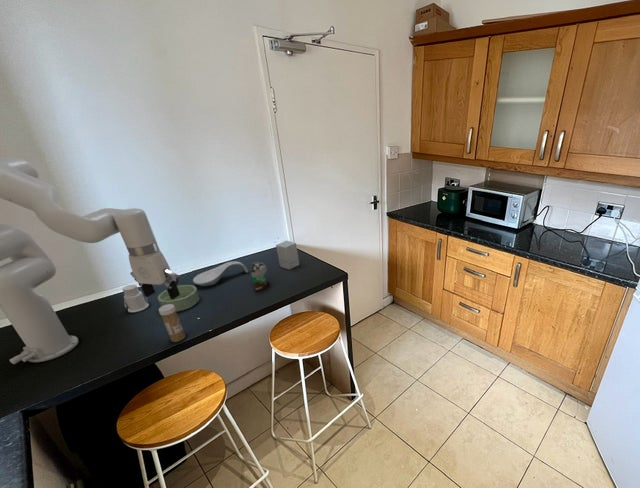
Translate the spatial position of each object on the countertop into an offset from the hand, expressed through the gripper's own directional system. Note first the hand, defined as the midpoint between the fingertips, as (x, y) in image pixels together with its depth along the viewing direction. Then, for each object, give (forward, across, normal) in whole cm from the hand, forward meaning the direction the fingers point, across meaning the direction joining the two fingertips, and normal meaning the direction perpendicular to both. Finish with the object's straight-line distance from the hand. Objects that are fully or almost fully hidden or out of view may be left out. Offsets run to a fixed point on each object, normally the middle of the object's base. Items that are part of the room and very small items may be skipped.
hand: (163, 295), depth 105 cm
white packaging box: (+18, +10, +63) cm, 66 cm away
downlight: (+18, -33, +14) cm, 40 cm away
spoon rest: (+18, -16, +43) cm, 49 cm away
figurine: (+18, +8, +41) cm, 45 cm away
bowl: (+18, -18, +20) cm, 32 cm away
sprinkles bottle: (+18, -1, 0) cm, 18 cm away
